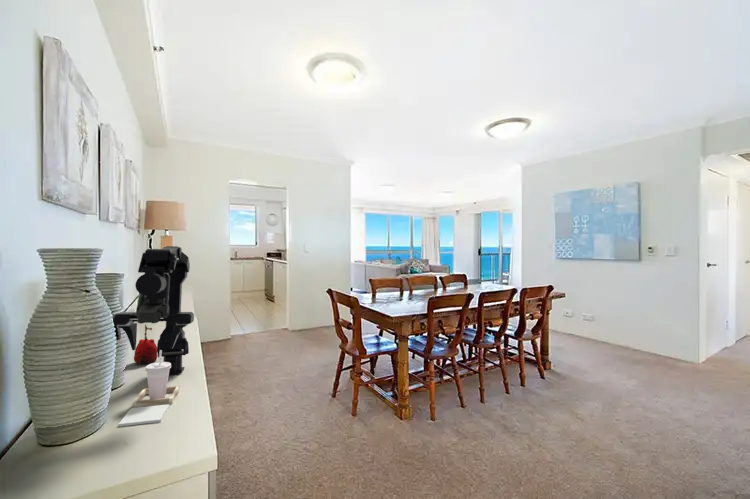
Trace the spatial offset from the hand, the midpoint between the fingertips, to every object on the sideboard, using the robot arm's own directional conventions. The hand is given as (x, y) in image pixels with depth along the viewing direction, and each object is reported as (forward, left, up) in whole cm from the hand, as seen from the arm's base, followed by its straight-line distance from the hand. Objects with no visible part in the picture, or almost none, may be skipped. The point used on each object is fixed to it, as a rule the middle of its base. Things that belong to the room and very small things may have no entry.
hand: (153, 349), depth 96 cm
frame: (-4, +1, -15) cm, 16 cm away
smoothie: (-4, +1, -15) cm, 16 cm away
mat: (+7, +1, -15) cm, 17 cm away
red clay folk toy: (-41, -12, -16) cm, 45 cm away
